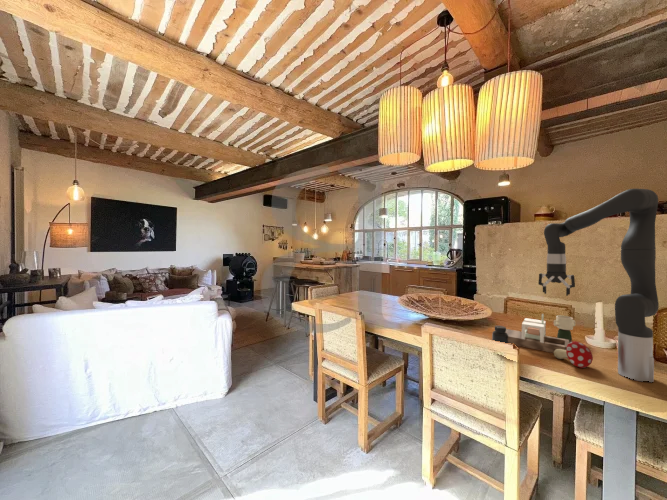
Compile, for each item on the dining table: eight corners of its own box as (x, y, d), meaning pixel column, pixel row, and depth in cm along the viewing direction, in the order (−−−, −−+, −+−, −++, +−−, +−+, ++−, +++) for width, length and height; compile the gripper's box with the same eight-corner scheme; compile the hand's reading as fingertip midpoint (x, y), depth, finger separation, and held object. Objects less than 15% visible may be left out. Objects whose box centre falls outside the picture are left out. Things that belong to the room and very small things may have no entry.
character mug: (569, 338, 151) (570, 315, 151) (580, 342, 144) (580, 319, 144) (549, 337, 153) (549, 315, 152) (558, 342, 145) (558, 318, 145)
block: (540, 337, 142) (540, 327, 142) (539, 339, 139) (539, 330, 139) (528, 335, 146) (528, 325, 146) (527, 337, 142) (527, 328, 142)
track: (568, 347, 138) (569, 339, 138) (568, 356, 128) (568, 347, 128) (505, 335, 157) (505, 328, 157) (500, 342, 146) (500, 334, 146)
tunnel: (545, 335, 144) (545, 321, 144) (543, 342, 134) (543, 327, 134) (525, 332, 150) (525, 318, 150) (521, 338, 140) (521, 323, 140)
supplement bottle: (492, 351, 134) (492, 327, 134) (491, 346, 140) (491, 324, 140) (508, 353, 131) (508, 329, 131) (507, 349, 137) (507, 325, 137)
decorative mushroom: (546, 337, 130) (579, 335, 116) (566, 348, 129) (601, 349, 116) (542, 358, 125) (576, 360, 111) (563, 371, 125) (599, 374, 111)
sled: (543, 336, 143) (544, 312, 142) (542, 340, 137) (542, 315, 136) (525, 333, 148) (525, 310, 148) (523, 337, 142) (523, 313, 142)
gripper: (538, 262, 138) (537, 294, 138) (575, 263, 128) (575, 297, 129) (539, 261, 143) (538, 292, 144) (574, 262, 134) (574, 295, 134)
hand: (556, 294), depth 136 cm, fingers open, 8 cm apart
